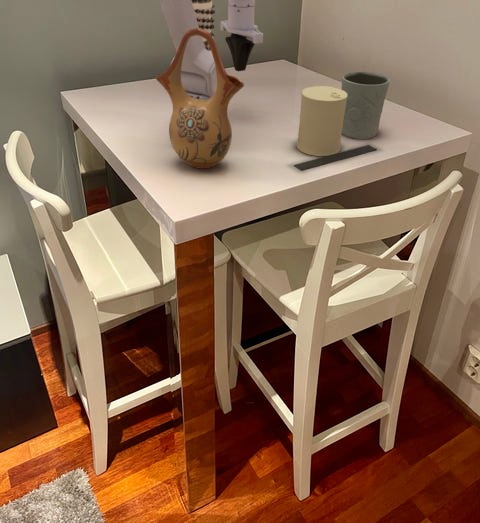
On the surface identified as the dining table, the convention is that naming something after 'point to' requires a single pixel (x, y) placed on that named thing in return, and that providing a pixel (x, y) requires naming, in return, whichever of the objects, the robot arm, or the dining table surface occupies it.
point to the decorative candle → (204, 18)
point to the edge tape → (334, 157)
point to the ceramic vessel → (199, 111)
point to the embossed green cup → (363, 103)
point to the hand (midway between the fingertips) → (240, 70)
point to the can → (321, 120)
